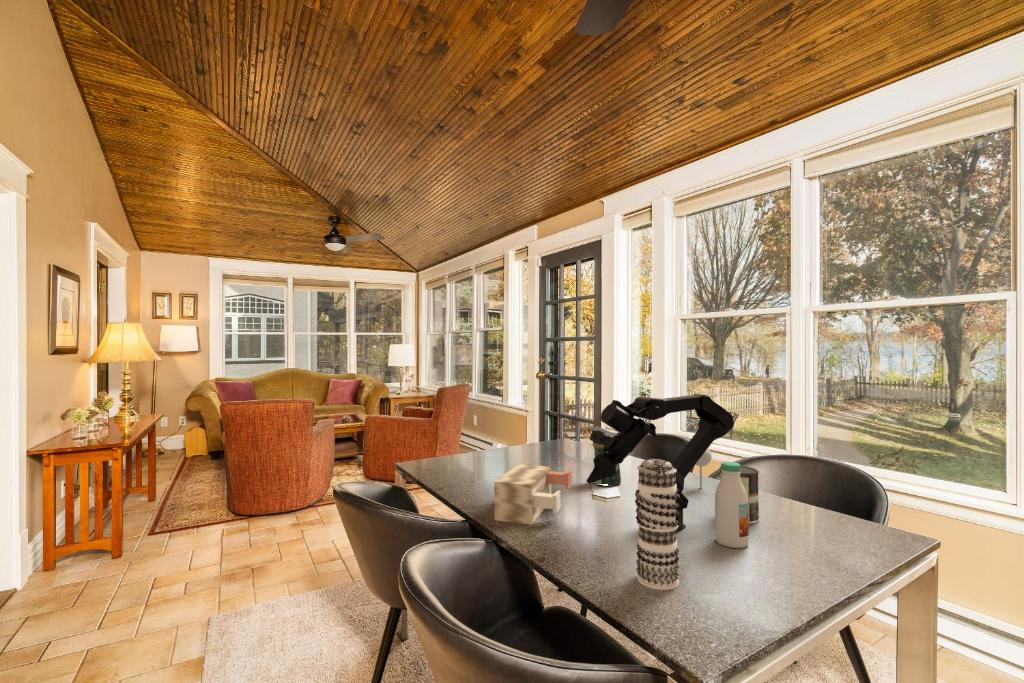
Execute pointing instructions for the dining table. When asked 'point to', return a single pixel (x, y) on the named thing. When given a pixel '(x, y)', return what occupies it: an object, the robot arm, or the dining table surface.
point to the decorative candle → (657, 525)
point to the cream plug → (547, 500)
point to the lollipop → (704, 462)
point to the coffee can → (750, 491)
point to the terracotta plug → (560, 478)
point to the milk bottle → (731, 508)
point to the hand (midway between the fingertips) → (591, 477)
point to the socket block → (520, 493)
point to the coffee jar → (609, 480)
